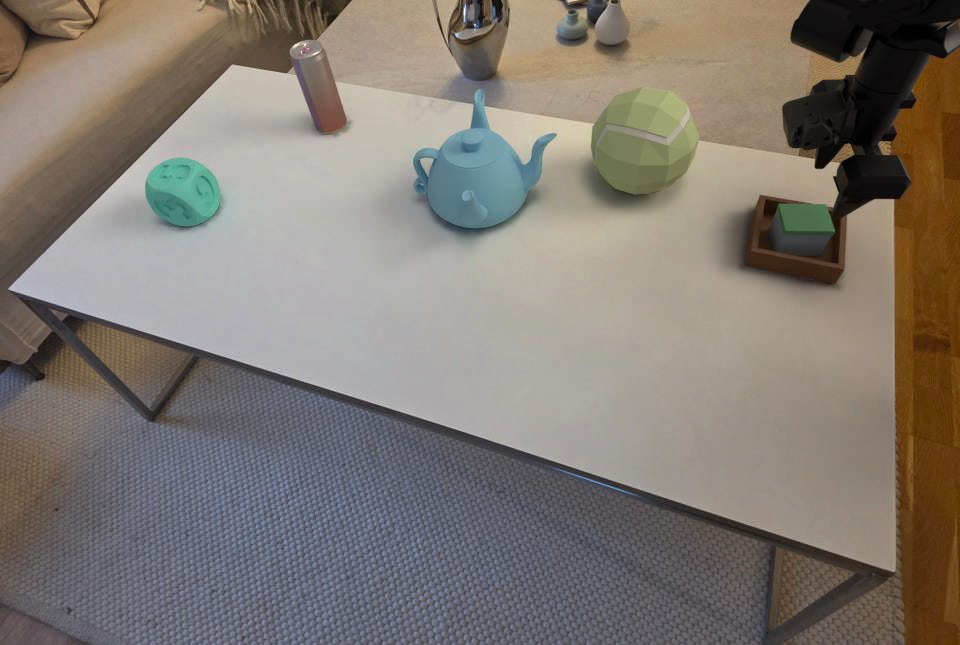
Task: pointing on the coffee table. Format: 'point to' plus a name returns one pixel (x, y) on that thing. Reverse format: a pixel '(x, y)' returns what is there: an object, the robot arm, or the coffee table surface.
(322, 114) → the beverage can
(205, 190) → the decorative dice
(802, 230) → the container
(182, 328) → the coffee table surface
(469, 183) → the teapot
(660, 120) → the tennis ball
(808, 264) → the tray
